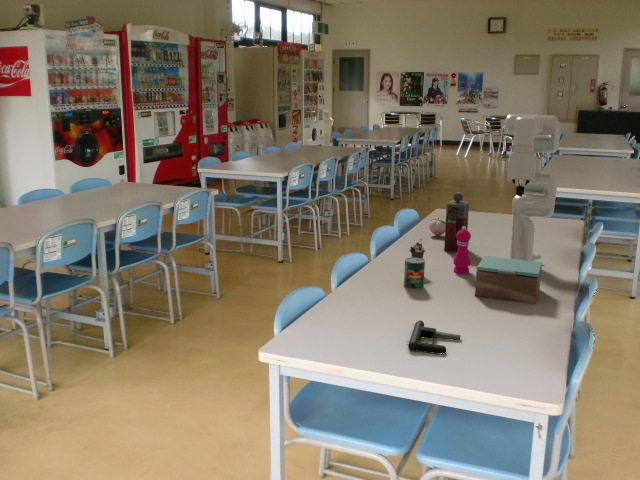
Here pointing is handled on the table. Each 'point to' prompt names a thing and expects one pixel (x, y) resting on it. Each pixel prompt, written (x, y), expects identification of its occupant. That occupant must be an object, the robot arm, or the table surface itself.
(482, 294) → the box
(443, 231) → the decorative fruit
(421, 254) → the sundae
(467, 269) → the pepper mill
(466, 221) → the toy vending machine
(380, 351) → the table surface
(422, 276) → the canned tomato
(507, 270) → the lid
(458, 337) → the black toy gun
